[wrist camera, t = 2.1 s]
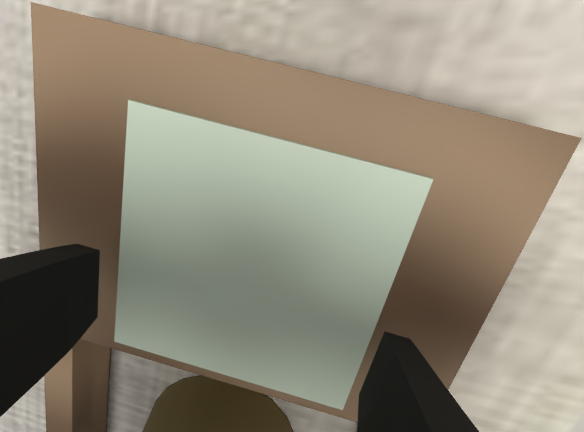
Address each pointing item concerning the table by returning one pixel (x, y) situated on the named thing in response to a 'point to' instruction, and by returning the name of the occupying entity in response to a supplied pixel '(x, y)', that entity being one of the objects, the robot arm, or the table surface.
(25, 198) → the table surface
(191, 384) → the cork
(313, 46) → the table surface
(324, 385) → the well board
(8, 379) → the robot arm
